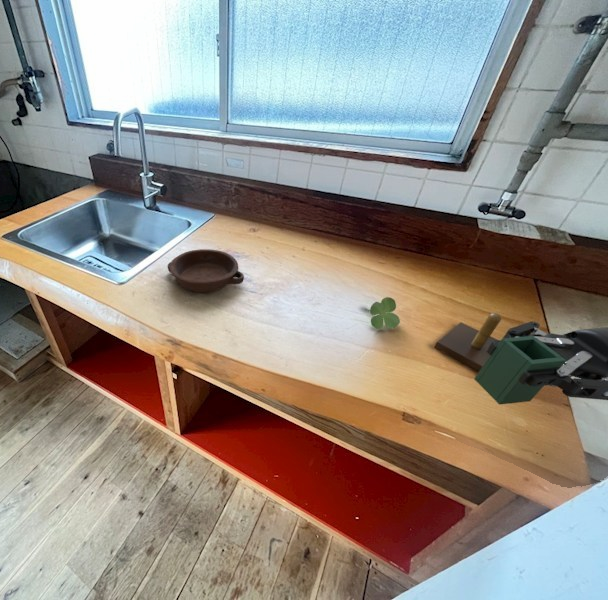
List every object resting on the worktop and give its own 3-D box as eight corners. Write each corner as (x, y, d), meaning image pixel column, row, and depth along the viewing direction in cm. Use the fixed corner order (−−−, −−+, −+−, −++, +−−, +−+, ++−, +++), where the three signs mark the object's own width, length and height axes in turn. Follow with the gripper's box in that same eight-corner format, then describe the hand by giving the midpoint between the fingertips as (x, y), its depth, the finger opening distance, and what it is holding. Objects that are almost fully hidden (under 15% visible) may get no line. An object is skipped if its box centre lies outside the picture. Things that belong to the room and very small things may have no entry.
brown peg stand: (514, 354, 62) (542, 317, 57) (491, 378, 58) (519, 341, 52) (457, 327, 69) (478, 291, 63) (433, 347, 65) (453, 310, 59)
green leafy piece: (369, 333, 75) (389, 338, 69) (345, 313, 74) (363, 317, 68) (387, 308, 76) (408, 311, 69) (363, 288, 74) (382, 289, 68)
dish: (233, 305, 78) (234, 289, 75) (153, 290, 84) (150, 274, 81) (251, 269, 91) (252, 254, 88) (180, 258, 97) (179, 243, 94)
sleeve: (502, 376, 53) (533, 335, 47) (530, 401, 49) (567, 360, 43) (473, 379, 52) (501, 338, 47) (499, 404, 48) (532, 364, 43)
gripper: (581, 303, 51) (480, 312, 50) (701, 372, 39) (572, 386, 39) (552, 337, 55) (459, 346, 55) (653, 409, 44) (536, 422, 43)
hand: (506, 363), depth 47 cm, fingers closed on sleeve, 5 cm apart
